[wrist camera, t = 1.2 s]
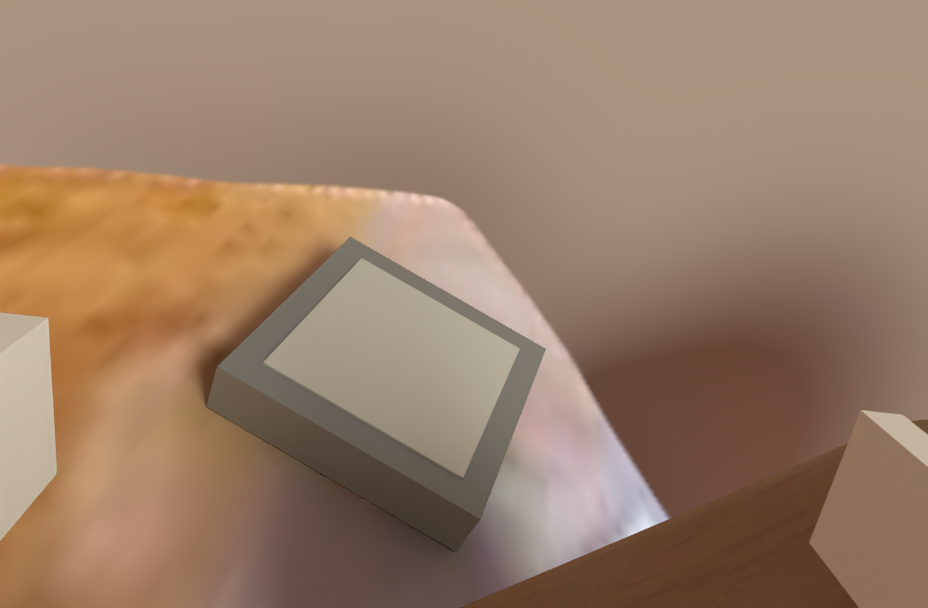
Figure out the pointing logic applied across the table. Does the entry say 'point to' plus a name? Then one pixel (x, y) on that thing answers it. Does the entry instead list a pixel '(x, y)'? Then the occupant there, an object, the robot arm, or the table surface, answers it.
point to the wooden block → (708, 555)
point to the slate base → (384, 389)
